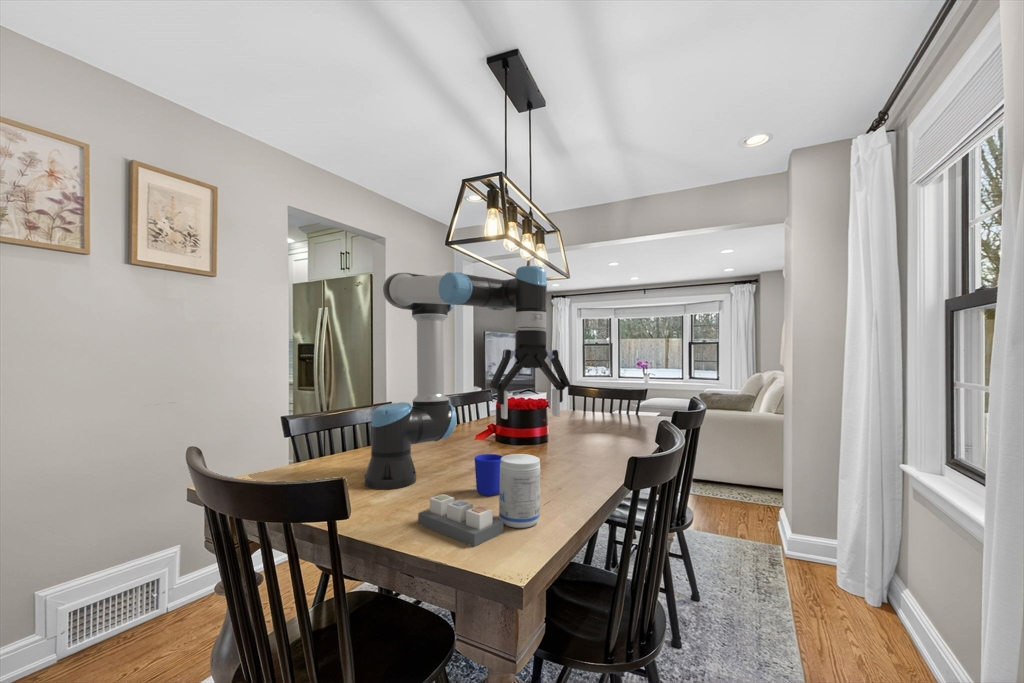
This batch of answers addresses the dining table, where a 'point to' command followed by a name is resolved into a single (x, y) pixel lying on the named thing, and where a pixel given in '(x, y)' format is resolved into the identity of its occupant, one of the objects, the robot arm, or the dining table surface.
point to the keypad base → (459, 528)
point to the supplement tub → (519, 490)
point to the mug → (488, 474)
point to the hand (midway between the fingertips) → (530, 417)
